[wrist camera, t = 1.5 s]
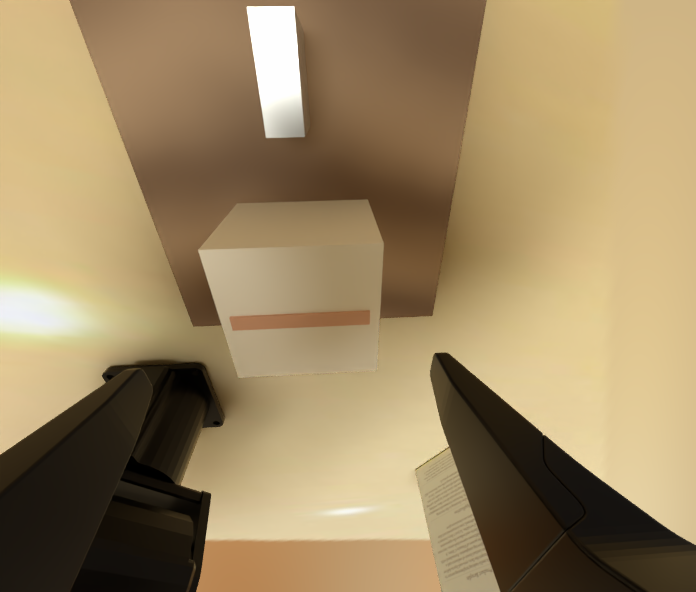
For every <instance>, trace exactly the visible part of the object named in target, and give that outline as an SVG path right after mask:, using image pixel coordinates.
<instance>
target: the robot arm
mask: <svg viewBox="0 0 696 592" xmlns="http://www.w3.org/2000/svg"><path fill="white" fill-rule="evenodd" d="M102 377H103V379H104V380H105V382H106V383H105V384H104V385H102V386H101V387H99V388H98V389H96V390H95V391H93V392H92V393H90V394H89V395H88V396H86V397H85V398H83V399H82V400H80V401H79V402H77V403H76V404H74V405H73V406H71V407H70V408H68V409H67V410H65V411H64V412H63V413H61V414H60V415H58V416H57V417H55V418H54V419H52V420H51V421H49V422H48V423H46V424H45V425H43V426H42V427H40V428H39V429H38V430H36V431H35V432H33V433H32V434H30V435H29V436H27V437H26V438H24V439H23V440H21V441H20V442H18V443H17V444H15V445H14V446H13V447H11V448H10V449H8V450H7V451H5V452H4V453H2V454H1V455H0V592H196V590H197V586H198V582H199V579H200V574H201V568H202V560H203V553H204V545H205V538H206V530H207V523H208V515H209V507H210V500H211V493H208V492H205V491H202V492H199V491H196V490H193V489H189V488H186V487H183V486H180V485H181V482H182V480H183V477H184V474H185V472H186V469H187V466H188V464H189V461H190V458H191V456H192V453H193V451H194V448H195V445H196V443H197V440H198V437H199V435H200V432H201V429H202V428H207V427H220V426H222V425H223V423H224V420H225V418H224V415H223V413H222V410H221V408H220V405H219V403H218V400H217V398H216V395H215V392H214V390H213V387H212V385H211V382H210V380H209V377H208V375H207V372H206V369H205V367H204V366H203V365H201V364H197V363H193V364H173V365H152V366H132V367H112V368H108V369H106V371H105V372H104V373H103V375H102ZM430 377H431V382H432V386H433V390H434V395H435V399H436V403H437V408H438V412H439V416H440V420H441V424H442V427H443V430H444V433H445V436H446V439H447V442H448V445H449V447H450V450H451V453H452V456H453V459H454V462H455V464H456V467H457V470H458V473H459V476H460V479H461V481H462V484H463V487H464V490H465V493H466V496H467V498H468V501H469V504H470V507H471V510H472V513H473V515H474V518H475V521H476V524H477V527H478V530H479V533H480V535H481V538H482V541H483V544H484V547H485V550H486V552H487V555H488V558H489V561H490V564H491V567H492V569H493V572H494V575H495V578H496V581H497V584H498V586H499V589H500V592H696V545H694V544H692V543H691V542H689V541H687V540H685V539H683V538H682V537H680V536H678V535H676V534H675V533H674V532H672V531H670V530H669V529H667V528H666V527H664V526H663V525H662V524H660V523H659V522H657V521H656V520H655V519H653V518H652V517H651V516H649V515H648V514H647V513H645V512H644V511H643V510H641V509H640V508H638V507H637V506H636V505H634V504H633V503H632V502H630V501H629V500H628V499H626V498H625V497H624V496H622V495H621V494H619V493H618V492H617V491H615V490H614V489H612V488H611V487H610V486H609V485H607V484H606V483H605V482H603V481H602V480H600V479H599V478H598V477H597V476H595V475H594V474H593V473H591V472H590V471H589V470H587V469H586V468H585V467H583V466H582V465H581V464H579V463H578V462H577V461H576V460H574V459H573V458H572V457H571V456H570V455H568V454H567V453H566V452H565V451H563V450H562V449H561V448H560V447H558V446H557V445H556V444H555V443H554V442H553V441H551V440H550V439H549V438H548V437H547V436H545V435H543V434H542V432H541V431H539V430H538V429H537V428H536V427H535V426H534V425H532V424H531V423H530V422H529V421H528V420H526V419H525V418H524V417H523V416H522V415H521V414H519V413H518V412H517V411H516V410H515V409H513V408H512V407H511V406H510V405H509V404H508V403H506V402H505V401H504V400H503V399H502V398H501V397H499V396H498V395H497V394H496V393H495V392H493V391H492V390H491V389H490V388H489V387H488V386H486V385H485V384H484V383H483V382H482V381H480V380H479V379H478V378H477V377H476V376H475V375H473V374H472V373H471V372H470V371H469V370H467V369H466V368H465V367H464V366H463V365H462V364H460V363H459V362H458V361H457V360H456V359H455V358H453V357H452V356H451V355H450V354H448V353H435V354H434V356H433V360H432V365H431V370H430Z"/></svg>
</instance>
